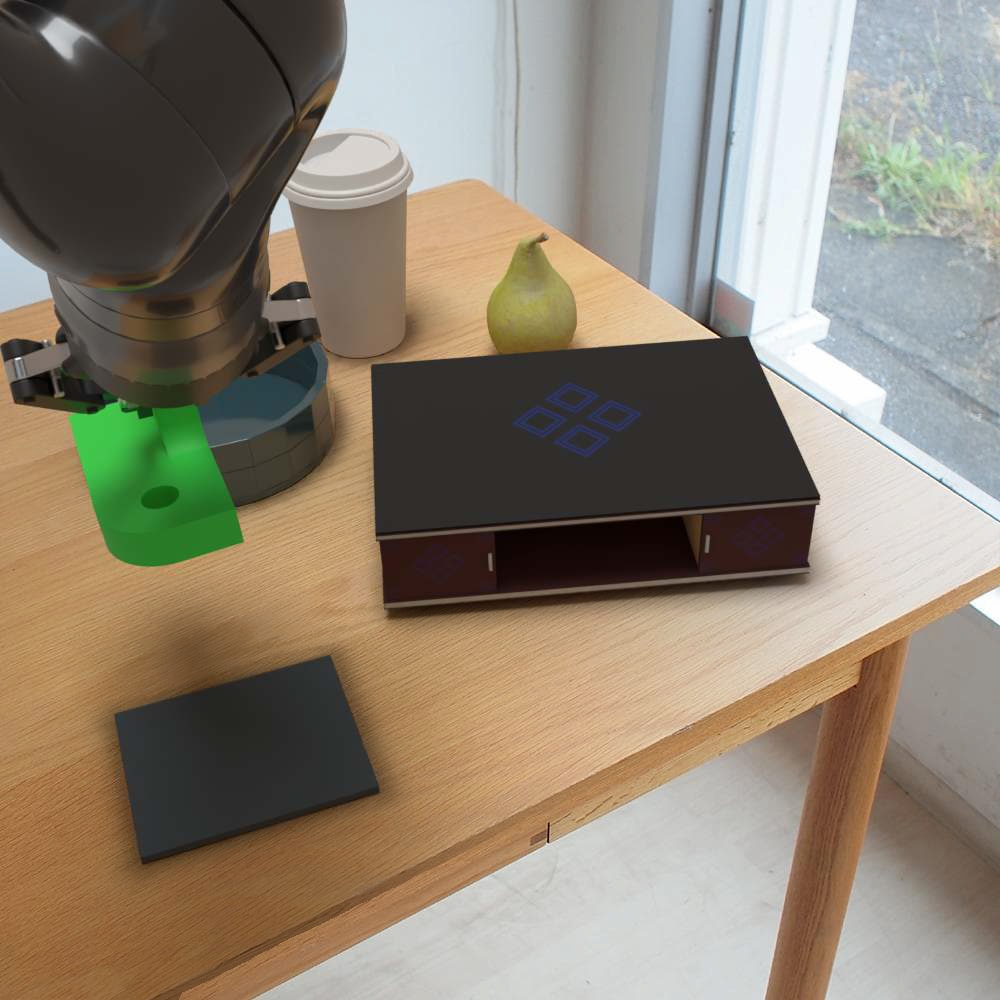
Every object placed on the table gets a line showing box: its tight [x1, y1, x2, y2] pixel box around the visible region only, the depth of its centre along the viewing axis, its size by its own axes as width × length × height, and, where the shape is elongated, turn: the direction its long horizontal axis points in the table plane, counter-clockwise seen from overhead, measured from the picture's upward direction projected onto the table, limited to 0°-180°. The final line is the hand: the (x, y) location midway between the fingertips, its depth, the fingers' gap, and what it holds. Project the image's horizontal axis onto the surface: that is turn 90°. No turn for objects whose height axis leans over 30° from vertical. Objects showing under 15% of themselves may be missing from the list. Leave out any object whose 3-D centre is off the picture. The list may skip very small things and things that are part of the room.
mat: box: [113, 654, 381, 864], centre depth 69 cm, size 12×10×1 cm
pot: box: [104, 340, 336, 507], centre depth 90 cm, size 16×16×5 cm
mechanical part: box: [68, 402, 245, 568], centre depth 63 cm, size 12×6×8 cm, turn 22°
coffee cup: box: [281, 128, 414, 359], centre depth 97 cm, size 10×10×15 cm
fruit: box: [486, 232, 578, 354], centre depth 95 cm, size 7×8×12 cm
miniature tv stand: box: [370, 335, 822, 611], centre depth 82 cm, size 17×25×7 cm
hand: (168, 391), depth 64 cm, fingers closed on mechanical part
